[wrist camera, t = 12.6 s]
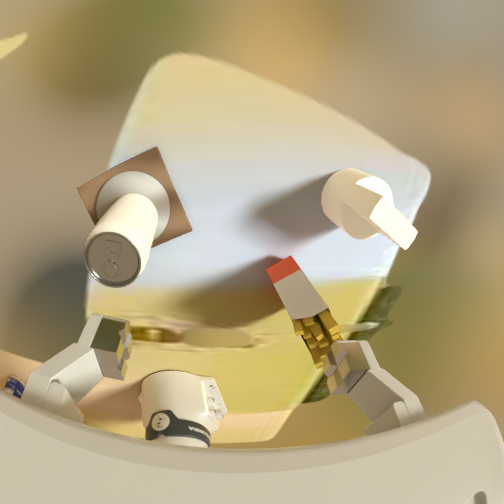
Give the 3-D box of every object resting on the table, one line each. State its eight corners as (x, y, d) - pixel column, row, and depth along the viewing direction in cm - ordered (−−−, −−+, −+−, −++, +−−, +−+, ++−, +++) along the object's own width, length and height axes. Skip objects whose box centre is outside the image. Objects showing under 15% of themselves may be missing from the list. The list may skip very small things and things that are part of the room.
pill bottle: (29, 390, 44) (20, 419, 35) (13, 385, 42) (4, 413, 34) (22, 377, 42) (11, 407, 33) (6, 372, 40) (-5, 400, 32)
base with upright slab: (378, 189, 40) (430, 214, 29) (349, 233, 42) (393, 269, 32) (342, 156, 36) (396, 173, 26) (309, 206, 39) (352, 239, 28)
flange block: (192, 228, 36) (192, 232, 35) (118, 260, 36) (115, 265, 34) (157, 146, 31) (155, 147, 29) (79, 186, 30) (75, 189, 29)
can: (107, 234, 32) (78, 283, 22) (115, 187, 30) (82, 220, 20) (153, 244, 35) (140, 298, 24) (163, 198, 32) (151, 236, 22)
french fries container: (285, 308, 46) (326, 390, 31) (259, 262, 41) (301, 348, 25) (308, 296, 46) (357, 373, 30) (285, 247, 41) (342, 325, 25)
